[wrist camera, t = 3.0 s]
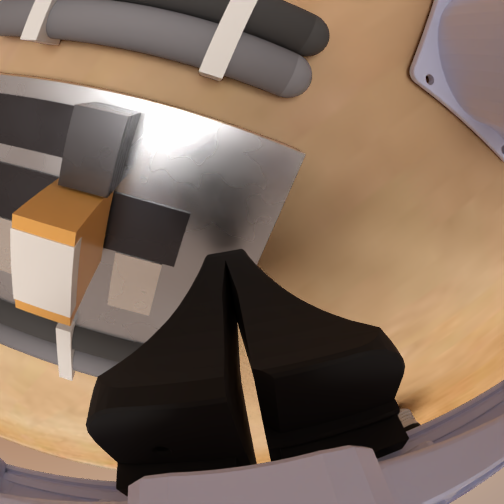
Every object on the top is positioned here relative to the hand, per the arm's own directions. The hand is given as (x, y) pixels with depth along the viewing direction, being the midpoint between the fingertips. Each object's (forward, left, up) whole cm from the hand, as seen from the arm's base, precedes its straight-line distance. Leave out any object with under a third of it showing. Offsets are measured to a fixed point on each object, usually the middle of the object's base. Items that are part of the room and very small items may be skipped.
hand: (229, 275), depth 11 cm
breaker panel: (+6, +1, -3) cm, 7 cm away
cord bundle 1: (+6, +8, -3) cm, 10 cm away
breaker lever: (+6, 0, -1) cm, 6 cm away
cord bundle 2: (+6, -8, -3) cm, 11 cm away
